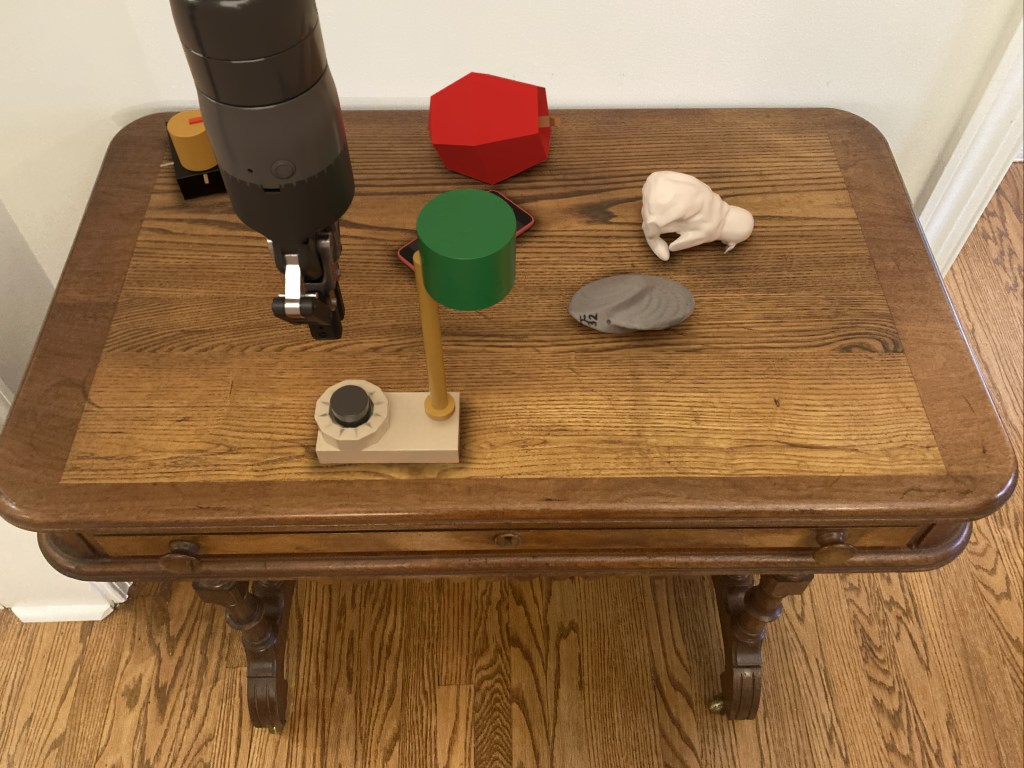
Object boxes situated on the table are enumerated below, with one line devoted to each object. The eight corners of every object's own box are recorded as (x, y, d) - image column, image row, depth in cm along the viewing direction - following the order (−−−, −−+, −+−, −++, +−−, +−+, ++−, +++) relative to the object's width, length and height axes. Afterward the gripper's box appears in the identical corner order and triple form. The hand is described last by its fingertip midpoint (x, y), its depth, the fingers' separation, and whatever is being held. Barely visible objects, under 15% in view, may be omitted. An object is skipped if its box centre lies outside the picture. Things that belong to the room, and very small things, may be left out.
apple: (449, 129, 101) (574, 116, 98) (434, 205, 95) (568, 193, 92) (419, 43, 92) (557, 25, 88) (400, 121, 85) (548, 105, 82)
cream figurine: (646, 154, 84) (765, 165, 85) (628, 217, 91) (738, 227, 92) (651, 198, 80) (775, 210, 81) (631, 261, 87) (746, 271, 88)
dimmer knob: (183, 175, 90) (168, 138, 86) (178, 149, 93) (163, 112, 89) (225, 166, 91) (212, 129, 87) (219, 140, 94) (206, 103, 90)
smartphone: (393, 251, 87) (492, 186, 93) (393, 255, 88) (492, 190, 93) (438, 288, 84) (538, 219, 90) (438, 292, 85) (538, 223, 91)
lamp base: (319, 464, 74) (310, 440, 70) (327, 405, 77) (319, 379, 74) (459, 463, 74) (456, 439, 71) (460, 405, 77) (458, 379, 74)
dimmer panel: (174, 214, 91) (164, 191, 89) (162, 145, 98) (152, 123, 95) (280, 190, 93) (273, 167, 91) (261, 125, 100) (254, 102, 97)
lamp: (422, 441, 70) (395, 259, 53) (426, 378, 74) (402, 188, 57) (513, 440, 70) (517, 259, 53) (513, 377, 74) (515, 188, 57)
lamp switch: (331, 427, 72) (327, 416, 70) (335, 396, 73) (331, 384, 72) (369, 427, 72) (366, 416, 70) (372, 396, 73) (369, 384, 72)
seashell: (675, 373, 79) (710, 290, 84) (673, 339, 75) (710, 253, 79) (562, 342, 84) (600, 264, 88) (552, 308, 79) (593, 228, 83)
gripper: (234, 65, 53) (291, 259, 67) (188, 219, 45) (264, 403, 59) (355, 65, 53) (387, 259, 67) (331, 219, 45) (372, 402, 59)
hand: (329, 326), depth 63 cm, fingers closed
